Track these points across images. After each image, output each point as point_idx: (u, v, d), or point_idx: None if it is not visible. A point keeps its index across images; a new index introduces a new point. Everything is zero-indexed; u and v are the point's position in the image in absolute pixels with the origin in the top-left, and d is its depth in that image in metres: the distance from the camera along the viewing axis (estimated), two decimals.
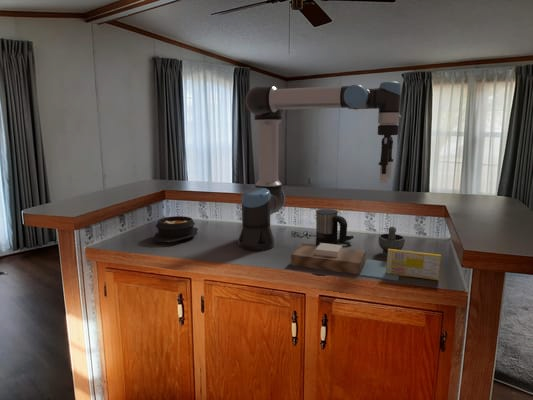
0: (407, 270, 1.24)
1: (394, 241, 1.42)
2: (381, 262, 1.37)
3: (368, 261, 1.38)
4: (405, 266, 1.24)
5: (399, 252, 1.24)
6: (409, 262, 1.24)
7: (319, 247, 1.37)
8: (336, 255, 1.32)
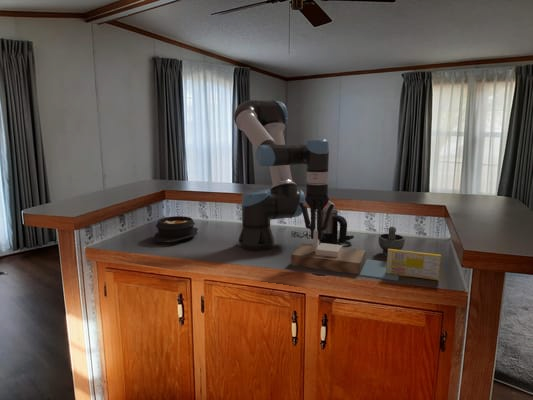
0: (407, 270, 1.24)
1: (394, 241, 1.42)
2: (381, 262, 1.37)
3: (368, 261, 1.38)
4: (405, 266, 1.24)
5: (399, 252, 1.24)
6: (409, 262, 1.24)
7: (319, 247, 1.37)
8: (336, 255, 1.32)
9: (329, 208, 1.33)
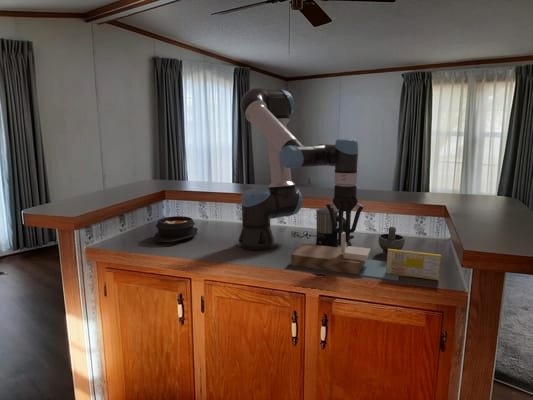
0: (407, 270, 1.24)
1: (394, 241, 1.42)
2: (381, 262, 1.37)
3: (368, 261, 1.38)
4: (405, 266, 1.24)
5: (399, 252, 1.24)
6: (409, 262, 1.24)
7: (347, 250, 1.33)
8: (365, 259, 1.28)
9: (358, 210, 1.29)
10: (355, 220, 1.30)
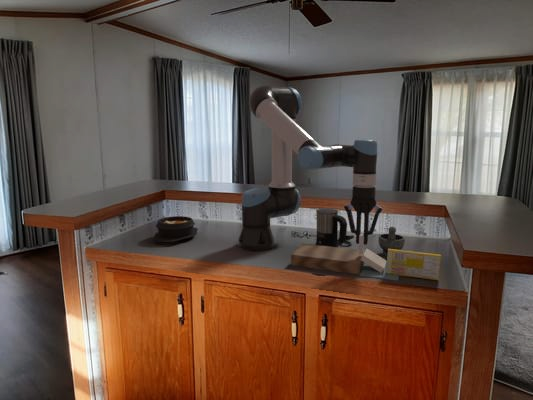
0: (407, 270, 1.24)
1: (394, 241, 1.42)
2: None
3: None
4: (405, 266, 1.24)
5: (399, 252, 1.24)
6: (409, 262, 1.24)
7: (366, 254, 1.31)
8: (380, 270, 1.27)
9: (377, 212, 1.27)
10: (374, 222, 1.28)
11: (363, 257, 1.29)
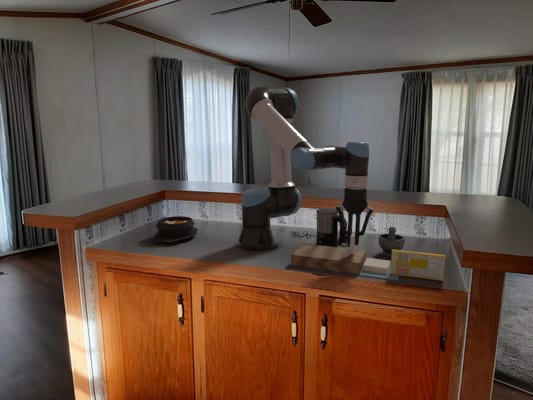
0: (411, 271, 1.24)
1: (394, 241, 1.42)
2: None
3: None
4: (409, 267, 1.24)
5: (403, 253, 1.24)
6: (413, 263, 1.23)
7: (367, 262, 1.31)
8: (385, 272, 1.27)
9: (368, 213, 1.29)
10: (365, 223, 1.30)
11: (364, 267, 1.29)
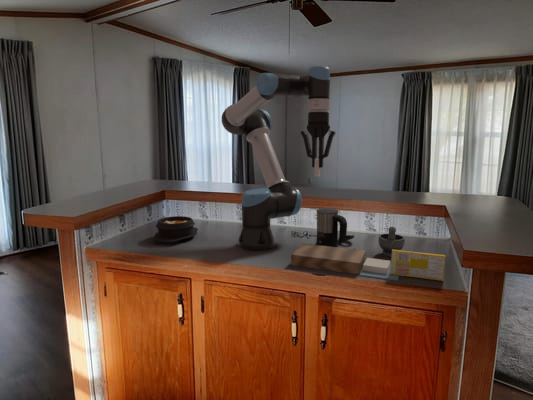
0: (411, 271, 1.24)
1: (394, 241, 1.42)
2: None
3: None
4: (409, 267, 1.24)
5: (403, 253, 1.24)
6: (413, 263, 1.23)
7: (367, 262, 1.31)
8: (385, 272, 1.27)
9: (330, 135, 1.37)
10: (327, 145, 1.38)
11: (364, 267, 1.29)
